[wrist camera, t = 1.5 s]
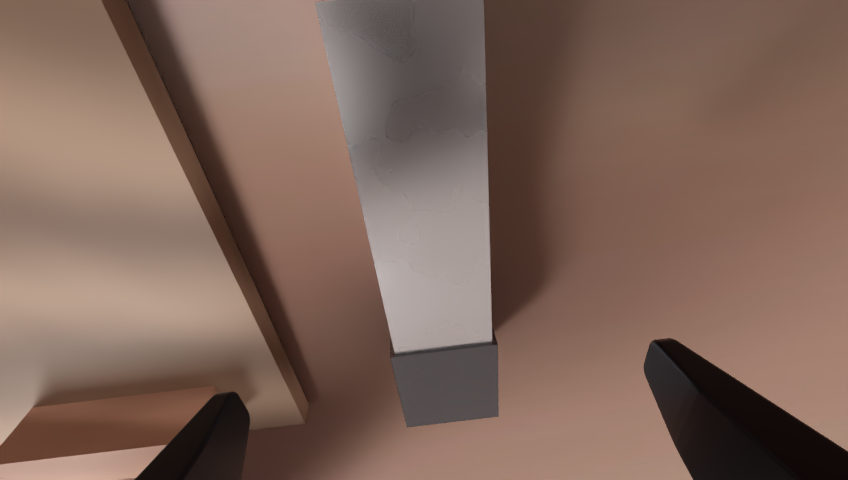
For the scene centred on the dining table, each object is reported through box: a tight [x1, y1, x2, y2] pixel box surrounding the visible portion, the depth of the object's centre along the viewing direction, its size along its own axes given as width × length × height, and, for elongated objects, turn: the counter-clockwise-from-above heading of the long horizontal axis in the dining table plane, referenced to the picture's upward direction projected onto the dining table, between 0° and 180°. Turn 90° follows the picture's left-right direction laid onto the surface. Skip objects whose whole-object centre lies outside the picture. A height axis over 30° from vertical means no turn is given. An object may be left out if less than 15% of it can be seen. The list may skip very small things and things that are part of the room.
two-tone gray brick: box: [315, 0, 498, 427], centre depth 13 cm, size 14×4×4 cm, turn 6°
